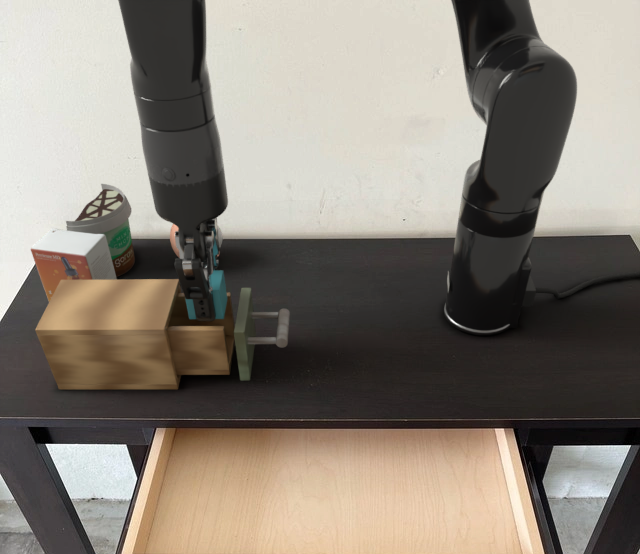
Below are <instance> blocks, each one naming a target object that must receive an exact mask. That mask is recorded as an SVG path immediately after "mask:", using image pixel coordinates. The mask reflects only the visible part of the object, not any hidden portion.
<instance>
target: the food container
mask: <svg viewBox="0 0 640 554" xmlns="http://www.w3.org/2000/svg"><path fill="white" fill-rule="evenodd" d="M100 186H101V191H100V192H99V193H98V195H97V196H96V197H95V198H94V199H93V200H91V201H90V202H88V203H86V205H85V206H84V208H83V209H82V210H81V212H80V214H78V216H77V218H76V219H75V220H65V223H66V226H65V227H66V230H67V231H75V232H83V233H91V234H104V235H105V236H106V239H107V243H108V247H109V251H110V255H111V259H112V262H113V266H114V270H115V274H116V278H118V277H120V276H122V275H124V274H126V273H128V272H129V271H130V270H131V269H132V268H133V267H134V265H135V261H136V257H135V251H134V246H133V245H134V244H133V239H132V232H131V225H130V219H129V218H130V217H131V215H132V207H131V204H130V201H129V200H128V198H127V196H126V195H125V194H124V192H123V191H122V190H121V189H120V188H119V187H116V186H114V185H111V184H106V183H100Z"/></svg>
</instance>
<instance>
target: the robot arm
mask: <svg viewBox="0 0 640 554" xmlns="http://www.w3.org/2000/svg"><path fill="white" fill-rule="evenodd" d="M117 1H118V5H119V10H120V14H121V18H122V22H123V27H124V31H125V35H126V40H127V44H128V50H129V53H130V56H131V58H130V64H129V69H130V79H131V86H132V91H133V96H134V100H135V106H136V111H137V116H138V121H139V126H140V136H141V137H140V138H141V147H142V152H143V157H144V158H143V159H144V161H145V166H146V171H147V172H146V173H147V176H148V181H149V186H150V190H151V195H152V199H153V205H154V209H155V212H156V214H157V215H158V216H159V218H161V219H162V220H164V221H166V222H169V223H170V224H172V225H173V224H175V225H176V226H177V227H178V228H179V229H178V231H175V242H176V247H177V249H178V250H179V255H180V258H175V260H174V263H173V264H174V265H173V266H174V268H175V272H176V274H177V277H178V278H177V279H179V282H180V287H181V290H182V293H184V296H185V298H186V299H193V304H194V310H195V315H196V319H197V320H198V321H214V320H215V317H216V312H215V306H214V300H213V294H212V291H213V287H212V281H211V274H212V273H213V271H214V270H218V268H219V265H220V260H219V258H218V257H219V256H220V254H219V251H220V252H221V247H219V238H218V226H219V225H218V217H220V216H221V215H222V214H224V212H226V210H227V208H228V205H229V198H228V197H229V196H228V190H227V189H228V187H227V181H226V174H225V173H226V172H225V165H224V158H223V150H222V142H221V136H220V135H221V134H220V132H219V127H218V124H217V121H216V117H215V116H216V115H215V107H214V99H213V93H212V92H213V91H212V85H211V78H210V72H209V68H208V67H209V66H208V61H207V42H208V41H207V39H208V37H207V36H208V35H207V5H206V0H117ZM450 2H451V5H452V9H453V14H454V17H455V23H456V29H457V34H458V41H459V47H460V52H461V58H462V65H463V66H462V67H463V71H464V79H465V84H466V85H465V86H466V90H467V95H468V99H469V103H470V105H471V107H472V110H473V111H474V113H475V114H476V115H477V117H478V118H479V119H480V121H481V122H483V124H484V125H485V126H486V129H485V134H484V139H483V145H482V149H481V155H480V158H479V159H478V160H475V161H473V162H472V163H471V164H470V165H469V166H468V167H467V169H466V170H465V174H464V178H463V184H462V189H461V190H462V191H461V197H460V206H459V212H458V218H457V226H456V233H455V238H454V246H453V253H452V258H451V265H450V272H449V271H447V275H446V276H447V278H446V284H447V292H446V296H445V303H444V306H443V307H444V308H443V315H444V318H445V319H446V321H447V323H448V324H450V325H451V326H452V327H453V328H455V329H457V330H458V331H461V332H463V333H466V334H470V335H474V336H494V335H498V334H501V333H504V332H505V331H507V330H509V329H516V328H517V327H518V324H519V319H520V316H521V312H522V307H533V305H534V302H535V301H534V300H535V297H536V294H549V295H553V297H554V299H564V298H566V297H569V296H571V295H574V294H575V293H577V292H579V291H581V290H583V289H585V288H586V287H589V286H592V285H595V284H598V283H603V282H606V281H612V280H619V279H628V278H637V277H640V270H638V271H630V272H622V273H614V274H608V275H607V274H606V275H603V276H599V277H595V278H591V279H589V280H586V281H584V282H582V283H580V284H578V285H576V286H574V287H572V288H571V289H568V290H566V291H563V292H559V291H558V290H557V289H555V288H549V287H536V286H535V284H534V281H533V279H532V276H531V271H532V262H531V259H530V257H529V255H530V251H531V247H532V244H533V239H534V235H535V232H536V227H537V223H538V219H539V214H540V210H541V206H542V202H543V199H544V194H545V191H546V189H547V188H548V187H549V185H550V183H551V182H552V180H553V179H554V177H555V175H556V173H557V170H558V168H559V165H560V161H561V158H562V156H563V155H562V154H563V151H564V148H565V145H566V141H567V138H568V135H569V131H570V128H571V124H572V121H573V117H574V113H575V109H576V103H577V97H578V80H577V76H576V72H575V69H574V67H573V66H572V65H571V63H570V62H569V61H568V60H567V59H566V58H565V57H564V56H563V55H561V54H560V53H558V52H557V51H556V50H554V49H553V48H552V47H550V46H549V45H547V44H546V43H545V42H544V41H543V39H542V38H541V36H540V33H539V31H538V28H537V27H538V26H537V24H536V21H535V18H534V15H533V11H532V7H531V2H530V0H450ZM217 225H218V226H217ZM217 255H219V256H218V257H217Z"/></svg>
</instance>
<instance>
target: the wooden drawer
mask: <svg viewBox="0 0 640 554" xmlns="http://www.w3.org/2000/svg"><path fill="white" fill-rule="evenodd" d="M252 293H253V292H252V287H240V294H239V300H238V305H237V311H236V317H235V316H234V309H233V303H232V295H231V292H227V304H226V309H225V315H224V319H215V320H214V321H198V320H197V319H189V314H188V309H187V304H186V299H185V296H184V292H182V293H177V296H176V300H175V303H174V306H173V310H172V313H171V317H170V320H169V324H168V327H167V335H168V339H169V344H170V348H171V352H172V357H173V361H174V366H175V370H176V375H181V376H229V375H230V374H231V371H232V364H233V358H234V353H235V351H236V359H237V366H238V374H239V380H240V381H251V377H252V376H251V375H252V371H253V369H252V368H253V362H254V354H255V347H256V345H276V346H277V347H278V348H281V349H282V348H286V347H287V346H288V343H289V333H290V332H289V330H290V319H291V312H290V310H289V309H287V308H281V309H280V310H279V311H260V312H259V311H254V302H253V301H254V300H253V294H252ZM234 317H235V318H234ZM261 319H264V320H265V319H267V320H269V319H272V320H273V319H276V320H277V325H276V326H277V327H276V336H272V337H271V336H257V331H256V330H257V329H256V321H255V320H261Z"/></svg>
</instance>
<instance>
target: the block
mask: <svg viewBox="0 0 640 554" xmlns="http://www.w3.org/2000/svg"><path fill="white" fill-rule="evenodd" d="M224 271H225V270H221V269H220V270H219V269H217V270H214V271H213V273H212V274H211V281H212V287H213V291H212V294H213V300H214V306H215V312H216V317H215V319H224V315H225V309H226V304H227V293H228V292H227V286H226V277H225V272H224ZM185 299H186V298H185ZM186 304H187V309H188V314H189V319H196V315H195V310H194V304H193V299H186Z"/></svg>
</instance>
